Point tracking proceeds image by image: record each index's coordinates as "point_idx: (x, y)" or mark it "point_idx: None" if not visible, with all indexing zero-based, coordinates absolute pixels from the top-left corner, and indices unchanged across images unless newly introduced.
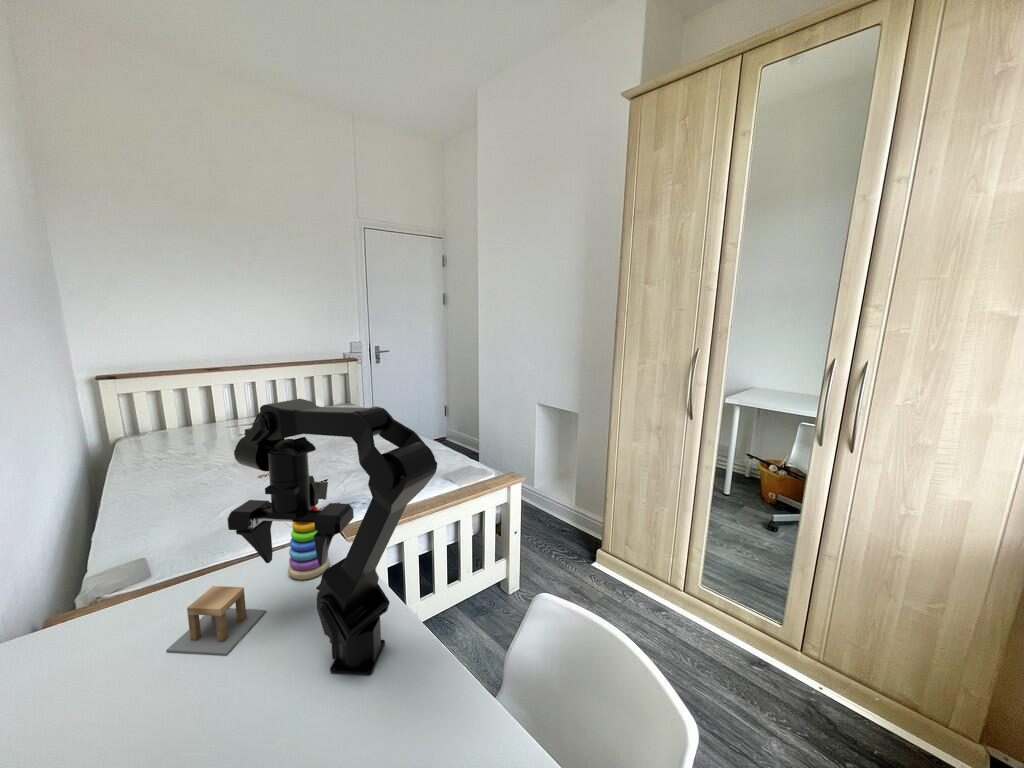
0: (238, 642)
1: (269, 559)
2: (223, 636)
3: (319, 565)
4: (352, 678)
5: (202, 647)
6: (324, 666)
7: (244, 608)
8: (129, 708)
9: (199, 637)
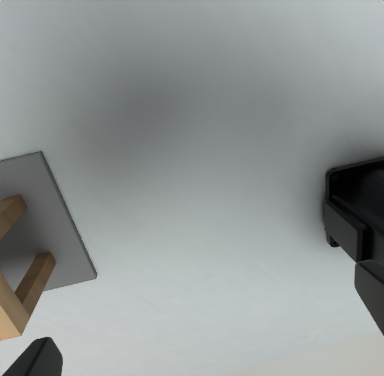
0: (84, 247)
1: (53, 368)
2: (51, 271)
3: (358, 291)
4: None
5: None
6: (308, 234)
7: (7, 214)
8: None
9: None
